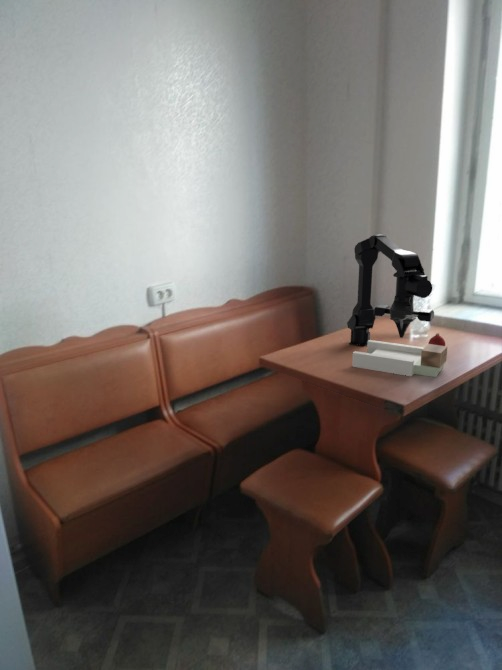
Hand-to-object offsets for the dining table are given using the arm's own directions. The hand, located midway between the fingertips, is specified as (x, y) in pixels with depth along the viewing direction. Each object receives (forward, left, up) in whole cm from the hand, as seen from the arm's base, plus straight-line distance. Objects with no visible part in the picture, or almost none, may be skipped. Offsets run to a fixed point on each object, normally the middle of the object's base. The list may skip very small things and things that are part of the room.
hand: (401, 337), depth 168 cm
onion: (+8, +18, -10) cm, 22 cm away
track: (-4, 0, -10) cm, 11 cm away
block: (+11, -1, -7) cm, 13 cm away
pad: (+10, 0, -10) cm, 14 cm away
